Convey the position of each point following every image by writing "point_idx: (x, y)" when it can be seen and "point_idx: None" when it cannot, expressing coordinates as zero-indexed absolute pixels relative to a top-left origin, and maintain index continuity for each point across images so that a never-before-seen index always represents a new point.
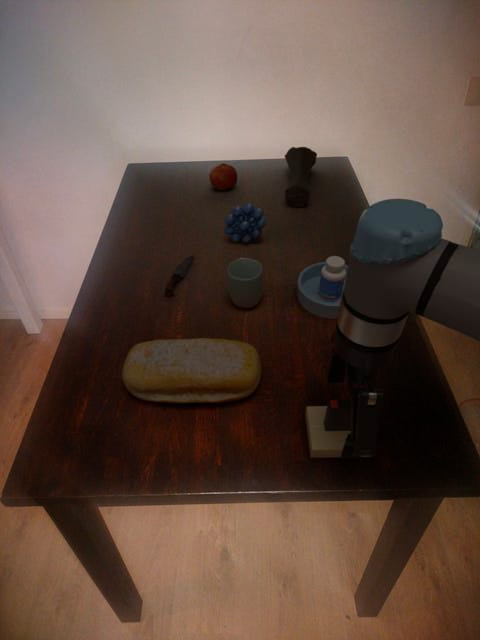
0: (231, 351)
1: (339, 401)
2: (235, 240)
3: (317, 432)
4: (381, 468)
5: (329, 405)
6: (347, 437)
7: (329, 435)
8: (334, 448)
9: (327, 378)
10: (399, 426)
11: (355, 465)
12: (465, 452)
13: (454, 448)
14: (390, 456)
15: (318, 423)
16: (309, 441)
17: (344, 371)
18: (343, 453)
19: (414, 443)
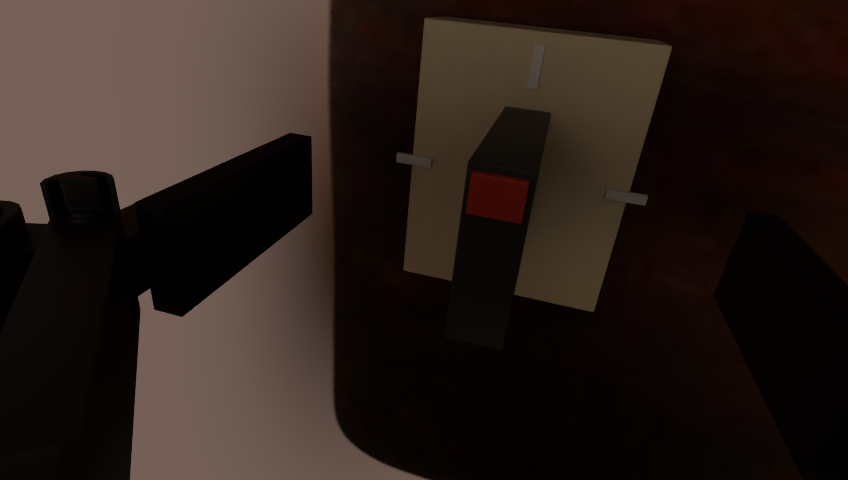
0: None
1: (512, 236)
2: None
3: (505, 67)
4: (383, 255)
5: (497, 164)
6: (178, 196)
7: (480, 120)
8: (420, 123)
9: (780, 219)
10: (512, 367)
11: (399, 181)
12: (408, 465)
13: (422, 451)
14: (417, 297)
15: (552, 85)
16: (499, 23)
17: (752, 352)
18: (264, 146)
19: (449, 376)
